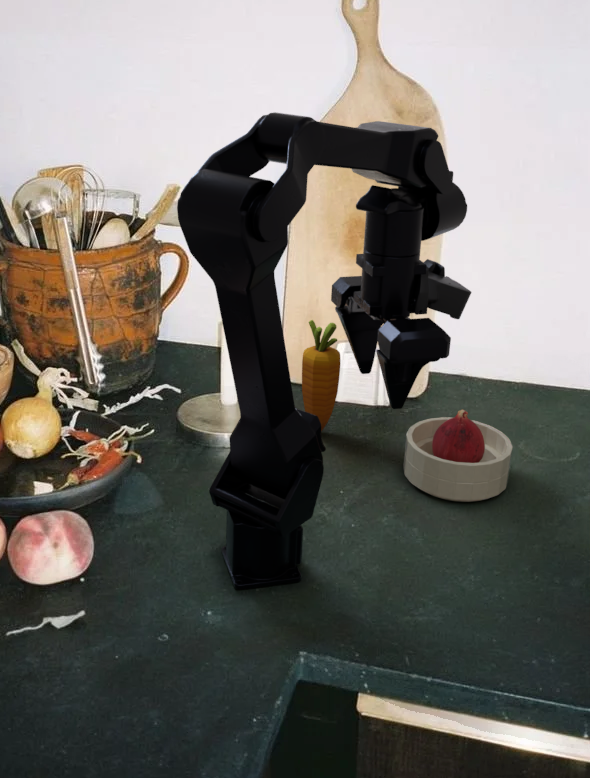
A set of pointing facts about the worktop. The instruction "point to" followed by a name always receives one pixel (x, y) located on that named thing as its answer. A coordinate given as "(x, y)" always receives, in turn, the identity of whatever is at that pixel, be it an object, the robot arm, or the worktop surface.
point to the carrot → (320, 374)
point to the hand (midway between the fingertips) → (380, 390)
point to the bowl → (457, 465)
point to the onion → (459, 440)
